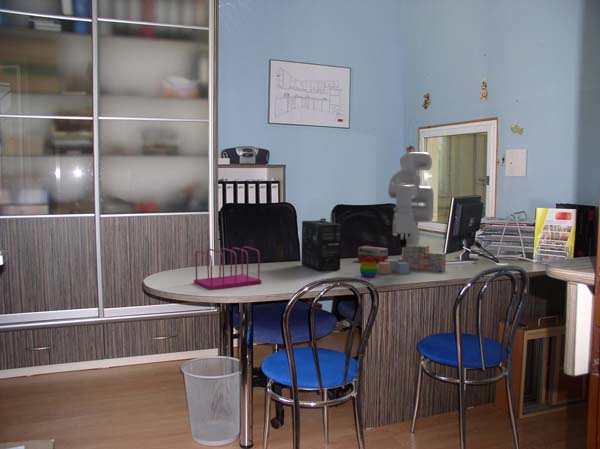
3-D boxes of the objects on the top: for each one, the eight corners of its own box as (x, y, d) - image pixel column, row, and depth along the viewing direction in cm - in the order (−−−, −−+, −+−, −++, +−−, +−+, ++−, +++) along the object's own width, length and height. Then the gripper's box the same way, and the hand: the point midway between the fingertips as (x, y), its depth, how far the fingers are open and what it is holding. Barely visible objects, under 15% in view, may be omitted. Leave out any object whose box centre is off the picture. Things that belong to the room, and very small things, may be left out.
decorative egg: (358, 278, 254) (359, 257, 253) (361, 275, 262) (361, 255, 261) (376, 279, 252) (376, 258, 251) (378, 276, 260) (378, 255, 259)
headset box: (341, 270, 276) (341, 219, 274) (320, 272, 271) (320, 220, 268) (320, 263, 296) (320, 216, 294) (300, 265, 291) (300, 217, 288)
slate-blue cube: (395, 272, 269) (395, 262, 269) (404, 271, 270) (404, 261, 270) (399, 273, 264) (399, 263, 264) (409, 273, 266) (409, 263, 265)
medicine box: (387, 262, 304) (388, 248, 303) (380, 263, 297) (380, 249, 297) (365, 259, 314) (365, 245, 313) (357, 261, 307) (357, 247, 307)
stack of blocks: (445, 270, 278) (446, 246, 276) (441, 272, 272) (442, 248, 271) (406, 266, 289) (407, 243, 288) (401, 268, 284) (402, 244, 283)
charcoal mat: (367, 270, 277) (367, 269, 277) (397, 268, 281) (397, 268, 281) (378, 275, 261) (378, 274, 261) (411, 274, 265) (411, 273, 265)
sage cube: (384, 269, 277) (384, 259, 277) (393, 268, 279) (393, 259, 278) (388, 270, 273) (388, 261, 272) (397, 270, 274) (397, 260, 273)
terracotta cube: (377, 272, 268) (377, 262, 268) (387, 271, 269) (387, 262, 269) (381, 274, 263) (381, 264, 263) (391, 273, 264) (391, 263, 264)
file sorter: (261, 284, 240) (261, 249, 239) (210, 290, 226) (209, 253, 225) (243, 277, 255) (243, 244, 253) (193, 283, 241) (193, 248, 239)
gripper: (392, 211, 259) (391, 248, 262) (421, 210, 263) (420, 247, 265) (386, 209, 267) (385, 246, 269) (414, 209, 270) (413, 245, 272)
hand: (402, 246), depth 267 cm, fingers closed
